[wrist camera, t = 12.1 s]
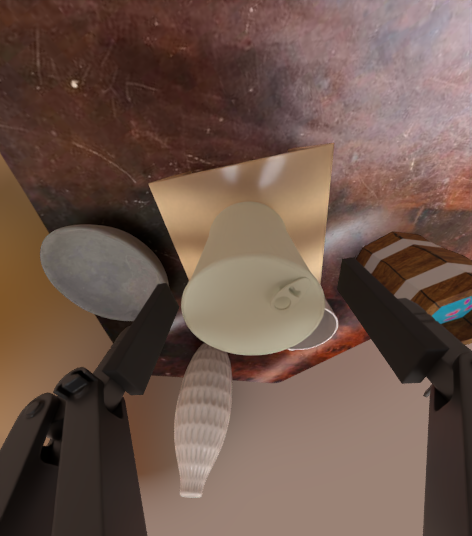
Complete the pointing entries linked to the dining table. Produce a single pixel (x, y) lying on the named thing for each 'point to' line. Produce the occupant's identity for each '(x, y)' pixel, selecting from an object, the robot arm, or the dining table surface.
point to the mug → (425, 278)
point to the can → (251, 285)
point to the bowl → (102, 269)
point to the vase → (202, 417)
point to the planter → (320, 330)
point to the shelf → (251, 200)
